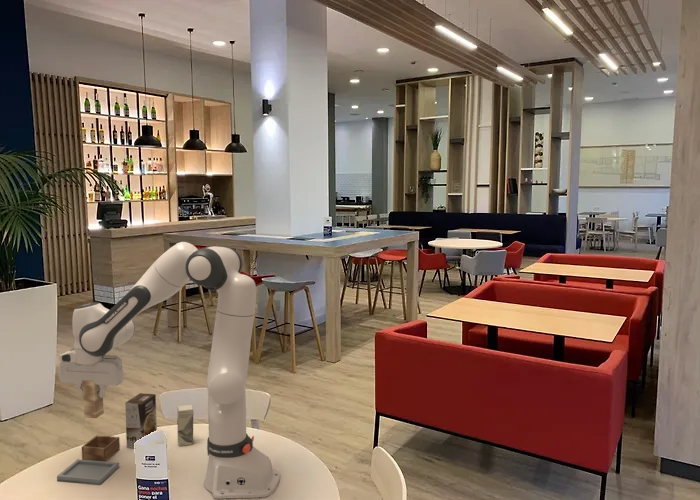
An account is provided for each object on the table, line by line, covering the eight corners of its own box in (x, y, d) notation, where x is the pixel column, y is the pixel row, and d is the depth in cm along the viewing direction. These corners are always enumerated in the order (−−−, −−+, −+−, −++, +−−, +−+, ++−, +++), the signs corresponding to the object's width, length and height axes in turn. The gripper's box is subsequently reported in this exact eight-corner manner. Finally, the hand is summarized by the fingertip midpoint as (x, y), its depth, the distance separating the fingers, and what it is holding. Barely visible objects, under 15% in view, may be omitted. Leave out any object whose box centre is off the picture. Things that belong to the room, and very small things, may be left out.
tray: (118, 467, 169) (118, 462, 169) (100, 484, 160) (100, 479, 159) (77, 463, 171) (77, 459, 171) (57, 481, 161) (56, 476, 161)
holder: (119, 449, 181) (119, 437, 180) (105, 462, 173) (105, 448, 172) (97, 447, 182) (96, 435, 181) (82, 460, 174) (81, 447, 173)
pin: (103, 412, 171) (101, 376, 169) (96, 418, 167) (93, 381, 166) (92, 412, 172) (90, 376, 170) (84, 417, 168) (82, 380, 166)
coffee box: (143, 449, 181) (141, 404, 179) (126, 447, 182) (124, 402, 180) (158, 437, 190) (156, 393, 188) (141, 435, 191) (139, 392, 189)
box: (178, 446, 183) (177, 411, 181) (177, 441, 187) (176, 406, 185) (194, 444, 185) (193, 408, 183) (193, 438, 189) (192, 403, 187)
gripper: (126, 352, 168) (129, 394, 170) (67, 349, 171) (70, 391, 173) (115, 359, 162) (117, 402, 164) (54, 356, 165) (57, 398, 167)
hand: (93, 396), depth 168 cm, fingers closed on pin, 4 cm apart
